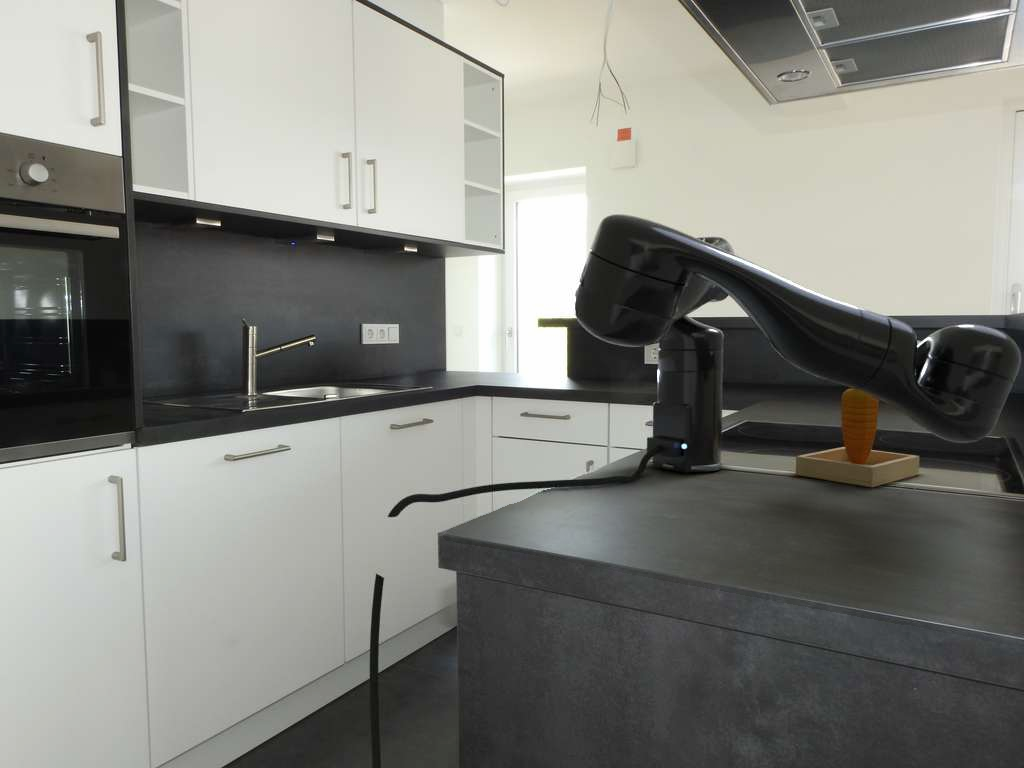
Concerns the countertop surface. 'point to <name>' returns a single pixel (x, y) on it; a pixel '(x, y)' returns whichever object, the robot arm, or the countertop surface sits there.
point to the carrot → (858, 424)
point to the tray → (857, 467)
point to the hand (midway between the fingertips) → (864, 366)
